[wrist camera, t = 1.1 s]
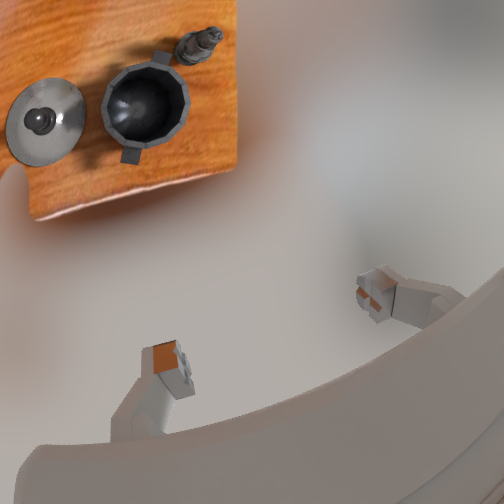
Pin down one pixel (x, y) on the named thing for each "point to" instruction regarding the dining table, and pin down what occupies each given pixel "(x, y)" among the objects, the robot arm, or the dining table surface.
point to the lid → (45, 122)
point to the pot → (145, 106)
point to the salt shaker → (197, 46)
